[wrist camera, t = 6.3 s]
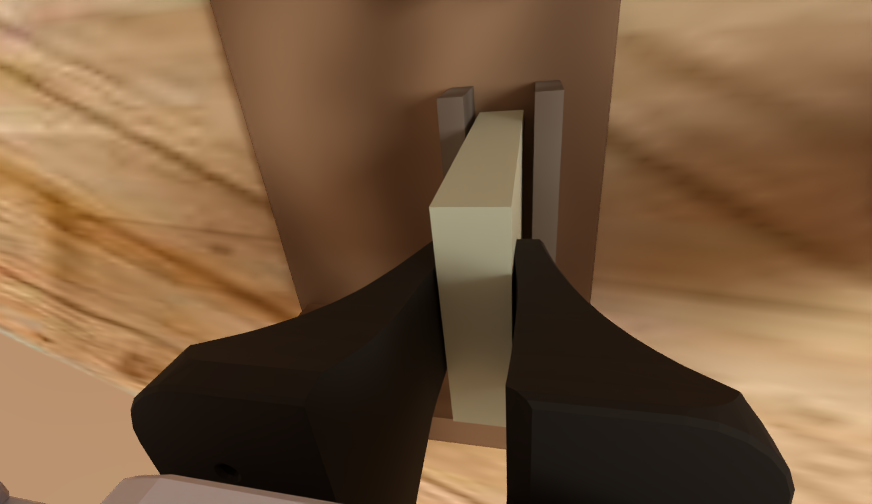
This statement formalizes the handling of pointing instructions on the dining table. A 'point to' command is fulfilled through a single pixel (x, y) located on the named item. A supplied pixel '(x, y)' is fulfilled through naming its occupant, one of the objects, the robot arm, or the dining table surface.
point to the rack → (418, 129)
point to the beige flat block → (480, 263)
